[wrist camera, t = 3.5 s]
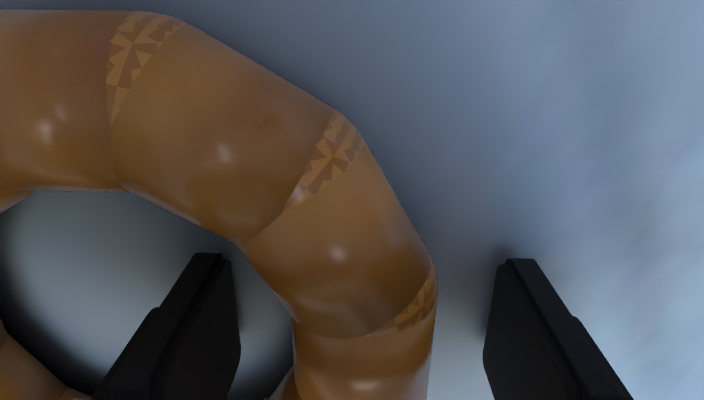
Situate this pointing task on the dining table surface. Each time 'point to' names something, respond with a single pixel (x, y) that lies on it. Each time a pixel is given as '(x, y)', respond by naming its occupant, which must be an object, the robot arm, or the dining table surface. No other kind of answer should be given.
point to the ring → (221, 187)
